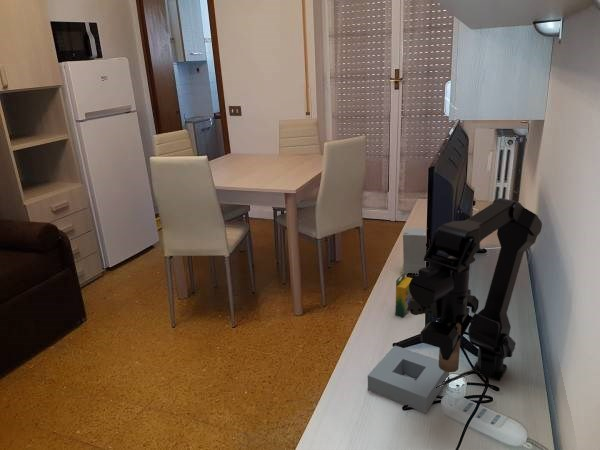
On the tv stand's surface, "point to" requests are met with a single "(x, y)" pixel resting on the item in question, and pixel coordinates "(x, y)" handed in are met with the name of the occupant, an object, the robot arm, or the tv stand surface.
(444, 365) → the walnut peg
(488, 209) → the robot arm
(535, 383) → the tv stand surface
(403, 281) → the crayon box
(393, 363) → the socket block
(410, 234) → the skincare box
